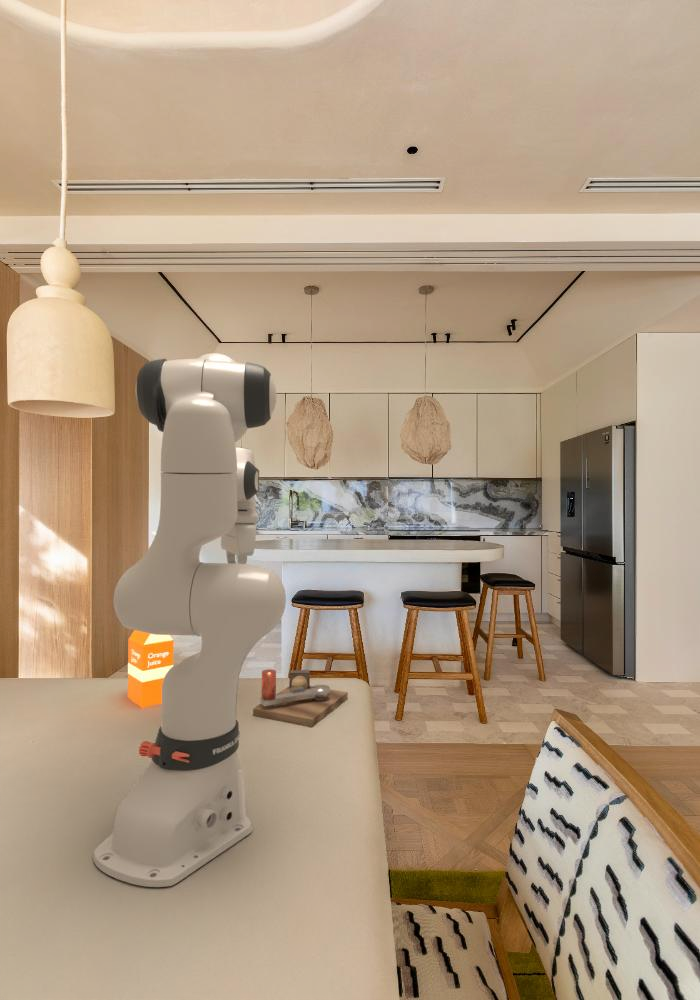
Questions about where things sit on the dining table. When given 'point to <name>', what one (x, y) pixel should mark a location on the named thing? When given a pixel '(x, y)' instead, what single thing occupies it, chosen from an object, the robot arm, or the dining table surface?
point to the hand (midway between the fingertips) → (236, 571)
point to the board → (302, 705)
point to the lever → (294, 695)
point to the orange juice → (148, 666)
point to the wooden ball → (299, 682)
